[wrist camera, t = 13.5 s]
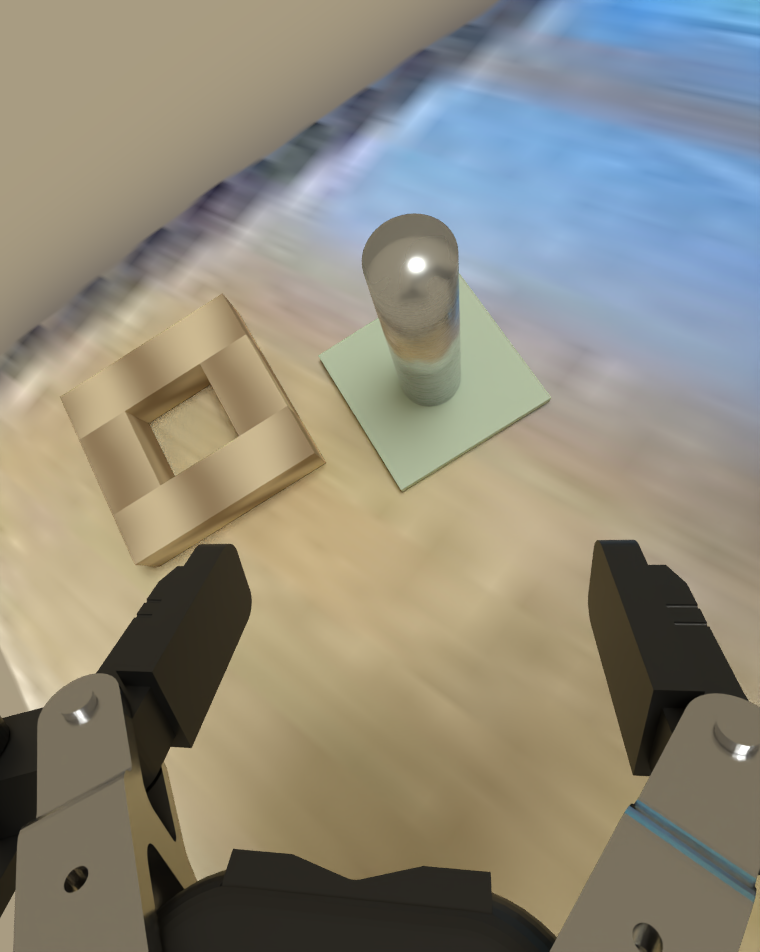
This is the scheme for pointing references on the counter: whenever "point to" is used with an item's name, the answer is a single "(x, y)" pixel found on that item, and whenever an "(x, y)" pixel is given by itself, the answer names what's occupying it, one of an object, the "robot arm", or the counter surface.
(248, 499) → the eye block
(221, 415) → the counter surface
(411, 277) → the peg
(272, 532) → the counter surface
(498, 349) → the mat
